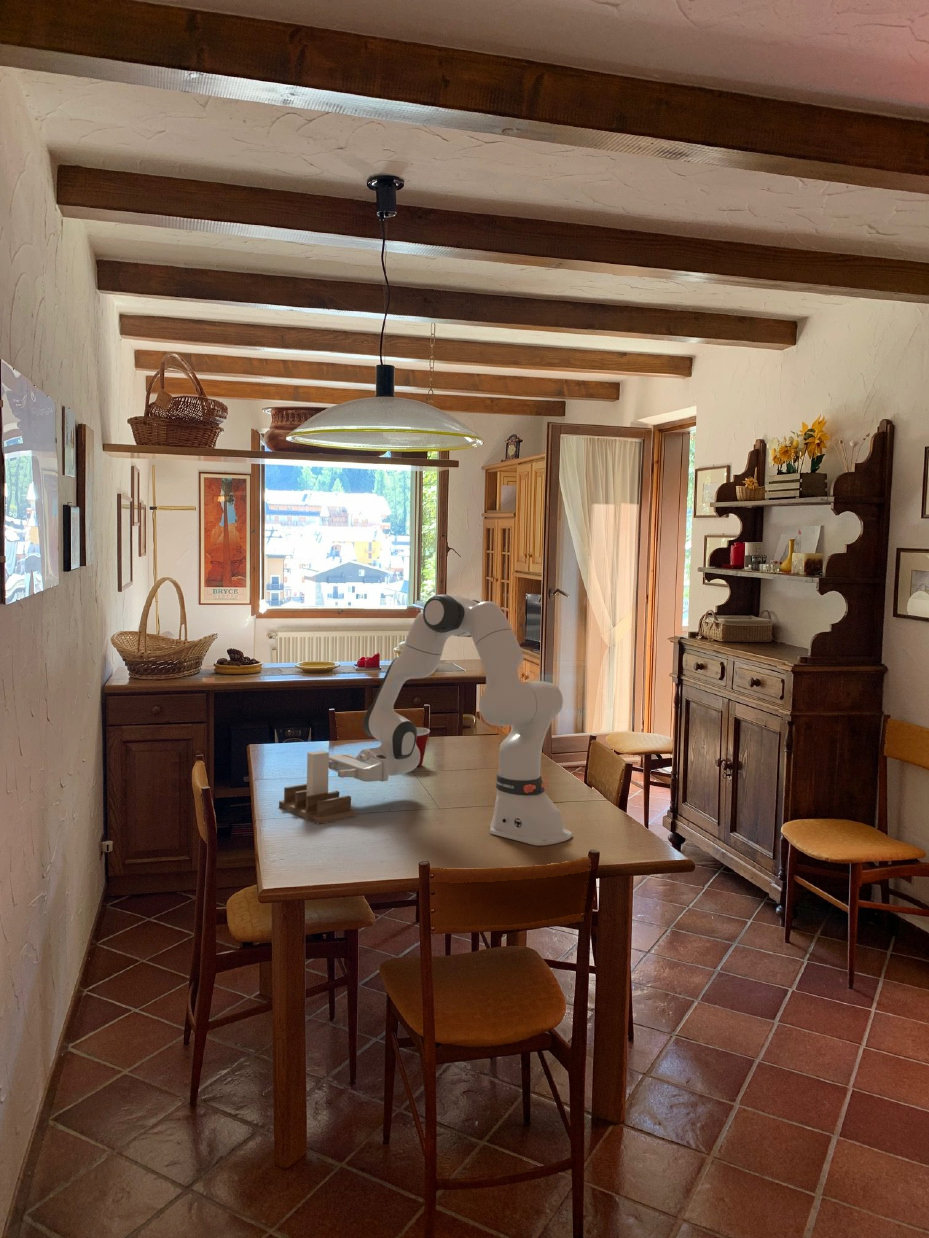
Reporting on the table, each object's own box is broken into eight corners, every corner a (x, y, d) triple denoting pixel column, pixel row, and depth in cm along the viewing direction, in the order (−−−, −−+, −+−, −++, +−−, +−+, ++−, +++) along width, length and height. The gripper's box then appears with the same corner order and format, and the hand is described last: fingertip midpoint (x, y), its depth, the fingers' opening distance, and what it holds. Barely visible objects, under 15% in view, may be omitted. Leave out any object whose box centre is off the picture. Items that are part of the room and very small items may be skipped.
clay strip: (327, 805, 255) (328, 752, 254) (312, 808, 252) (313, 754, 250) (321, 803, 257) (323, 750, 256) (306, 806, 254) (307, 752, 253)
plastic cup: (391, 762, 313) (392, 727, 312) (420, 760, 318) (421, 726, 317) (404, 770, 304) (405, 734, 303) (434, 767, 309) (435, 732, 308)
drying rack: (355, 816, 251) (356, 796, 251) (317, 824, 243) (318, 803, 243) (315, 799, 266) (316, 780, 265) (278, 806, 258) (279, 787, 258)
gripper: (349, 746, 273) (309, 752, 263) (391, 759, 257) (350, 766, 248) (349, 767, 273) (309, 774, 264) (391, 782, 258) (350, 789, 249)
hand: (329, 770), depth 256 cm, fingers open, 8 cm apart
